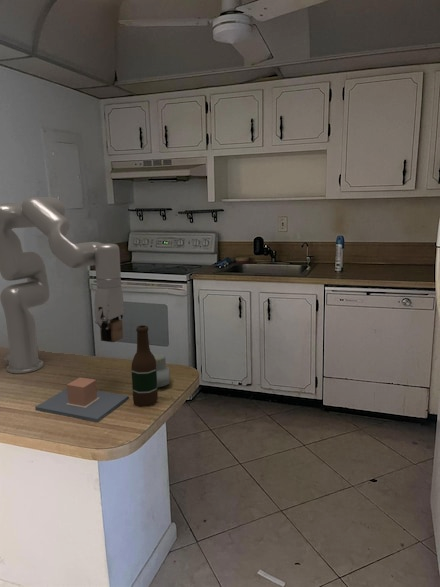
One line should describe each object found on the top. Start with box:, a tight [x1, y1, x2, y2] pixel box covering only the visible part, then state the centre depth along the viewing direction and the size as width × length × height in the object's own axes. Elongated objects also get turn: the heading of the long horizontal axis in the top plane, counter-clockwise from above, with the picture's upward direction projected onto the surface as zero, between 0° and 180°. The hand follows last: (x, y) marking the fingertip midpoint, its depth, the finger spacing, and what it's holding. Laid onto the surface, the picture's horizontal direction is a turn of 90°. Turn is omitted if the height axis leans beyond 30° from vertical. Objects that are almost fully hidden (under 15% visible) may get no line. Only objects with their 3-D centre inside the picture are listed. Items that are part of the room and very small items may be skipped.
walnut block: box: [99, 319, 124, 343], centre depth 142 cm, size 5×5×6 cm
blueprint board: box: [34, 388, 130, 423], centre depth 134 cm, size 22×16×1 cm
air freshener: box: [152, 353, 171, 389], centre depth 148 cm, size 11×8×10 cm
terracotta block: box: [66, 377, 98, 406], centre depth 134 cm, size 6×6×6 cm
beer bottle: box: [131, 325, 158, 408], centre depth 133 cm, size 8×8×24 cm
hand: (111, 337), depth 143 cm, fingers closed on walnut block, 5 cm apart
